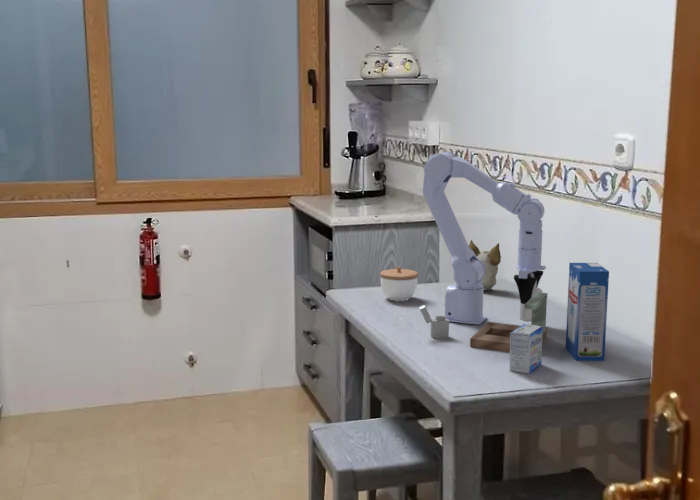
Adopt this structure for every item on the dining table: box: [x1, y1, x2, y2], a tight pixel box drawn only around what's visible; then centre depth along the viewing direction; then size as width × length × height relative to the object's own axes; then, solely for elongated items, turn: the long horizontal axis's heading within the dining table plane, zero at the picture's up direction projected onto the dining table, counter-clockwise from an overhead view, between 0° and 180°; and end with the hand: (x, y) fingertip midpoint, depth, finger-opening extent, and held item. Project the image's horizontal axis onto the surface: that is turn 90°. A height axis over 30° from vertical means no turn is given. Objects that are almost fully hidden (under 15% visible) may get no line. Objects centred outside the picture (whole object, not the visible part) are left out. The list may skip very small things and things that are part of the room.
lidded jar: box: [379, 266, 419, 302], centre depth 238 cm, size 11×11×9 cm
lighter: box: [418, 304, 450, 339], centre depth 199 cm, size 7×2×8 cm, turn 98°
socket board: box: [469, 292, 548, 353], centre depth 195 cm, size 14×16×11 cm
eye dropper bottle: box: [519, 273, 543, 322], centre depth 209 cm, size 4×6×12 cm
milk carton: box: [565, 262, 610, 362], centre depth 185 cm, size 10×6×20 cm, turn 178°
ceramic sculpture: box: [468, 239, 502, 290], centre depth 249 cm, size 11×9×15 cm
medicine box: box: [509, 323, 543, 375], centre depth 176 cm, size 8×4×9 cm, turn 148°
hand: (527, 301), depth 209 cm, fingers closed on eye dropper bottle, 5 cm apart
